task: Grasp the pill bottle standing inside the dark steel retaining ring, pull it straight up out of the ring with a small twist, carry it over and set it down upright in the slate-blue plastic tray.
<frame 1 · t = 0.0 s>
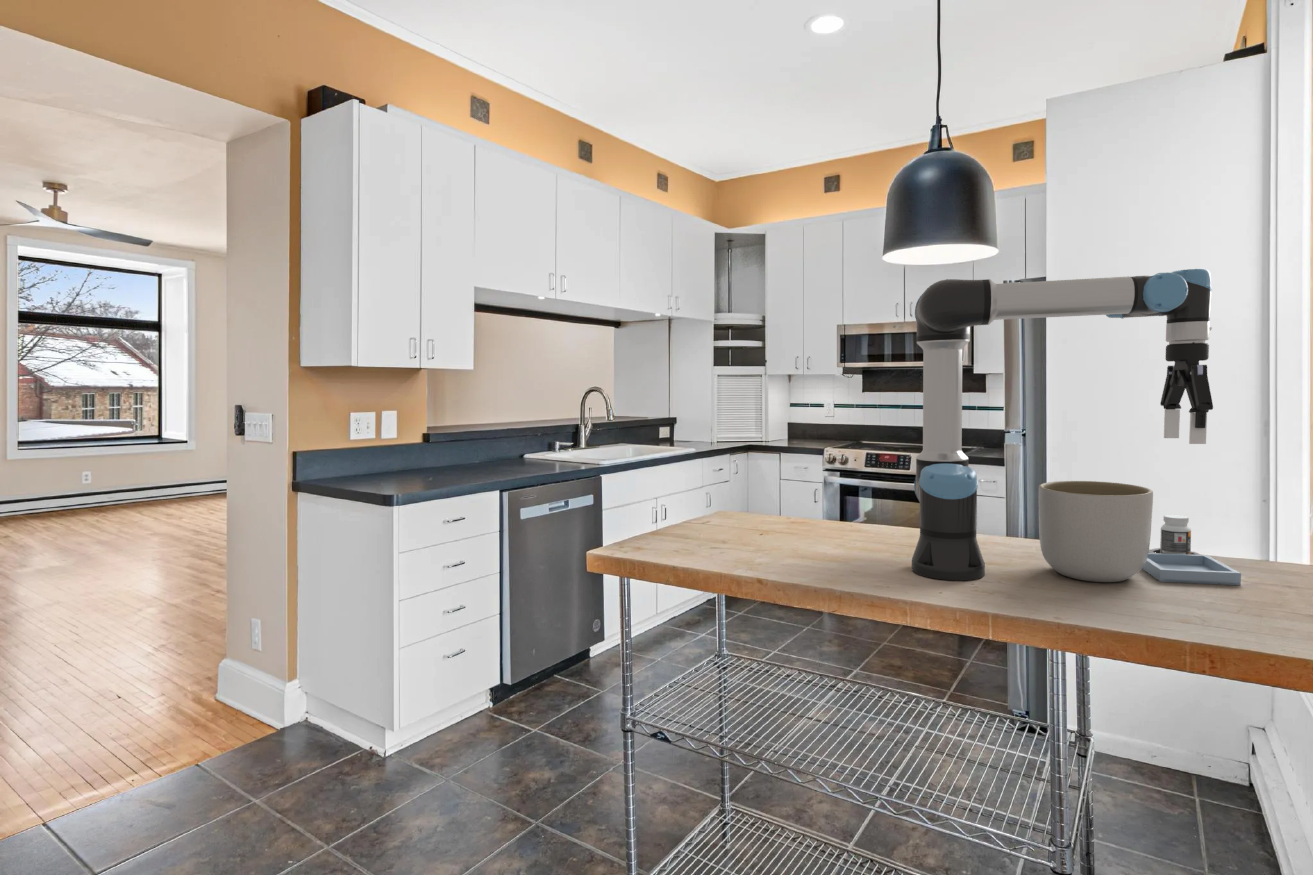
hand: (1183, 441, 158), 28 cm above the worktop, fingers open, 13 cm apart
tray: (1184, 573, 155), on the worktop
pill bottle: (1174, 559, 167), resting in ring
planter: (1091, 576, 155), on the worktop
ring: (1174, 558, 167), on the worktop
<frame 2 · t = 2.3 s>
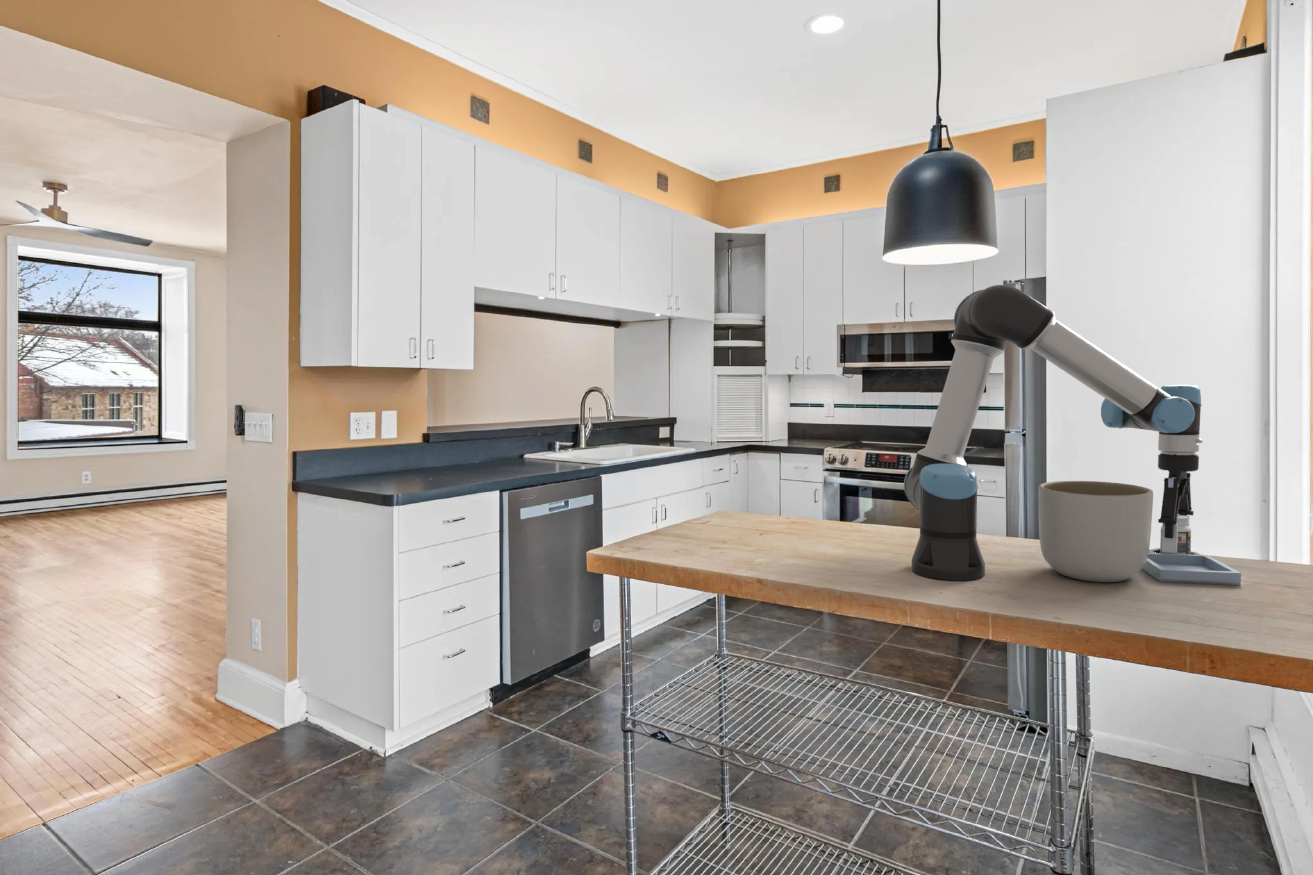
hand: (1175, 547, 166), 3 cm above the worktop, fingers open, 11 cm apart
nothing on the worktop moved.
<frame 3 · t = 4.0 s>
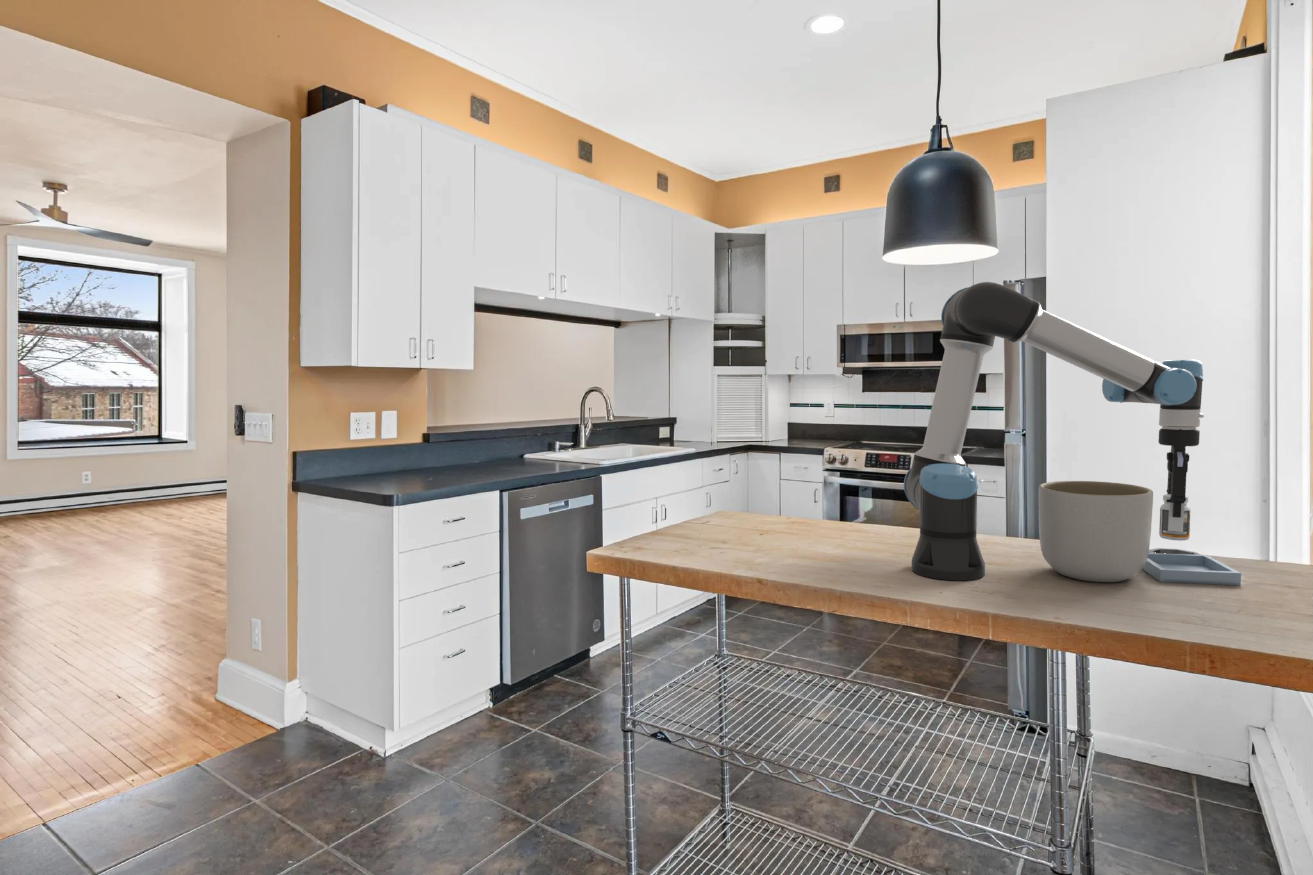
hand: (1174, 528, 166), 7 cm above the worktop, fingers closed on pill bottle, 6 cm apart
pill bottle: (1173, 539, 166), point 5 cm above the worktop, touching gripper
everything else where it was.
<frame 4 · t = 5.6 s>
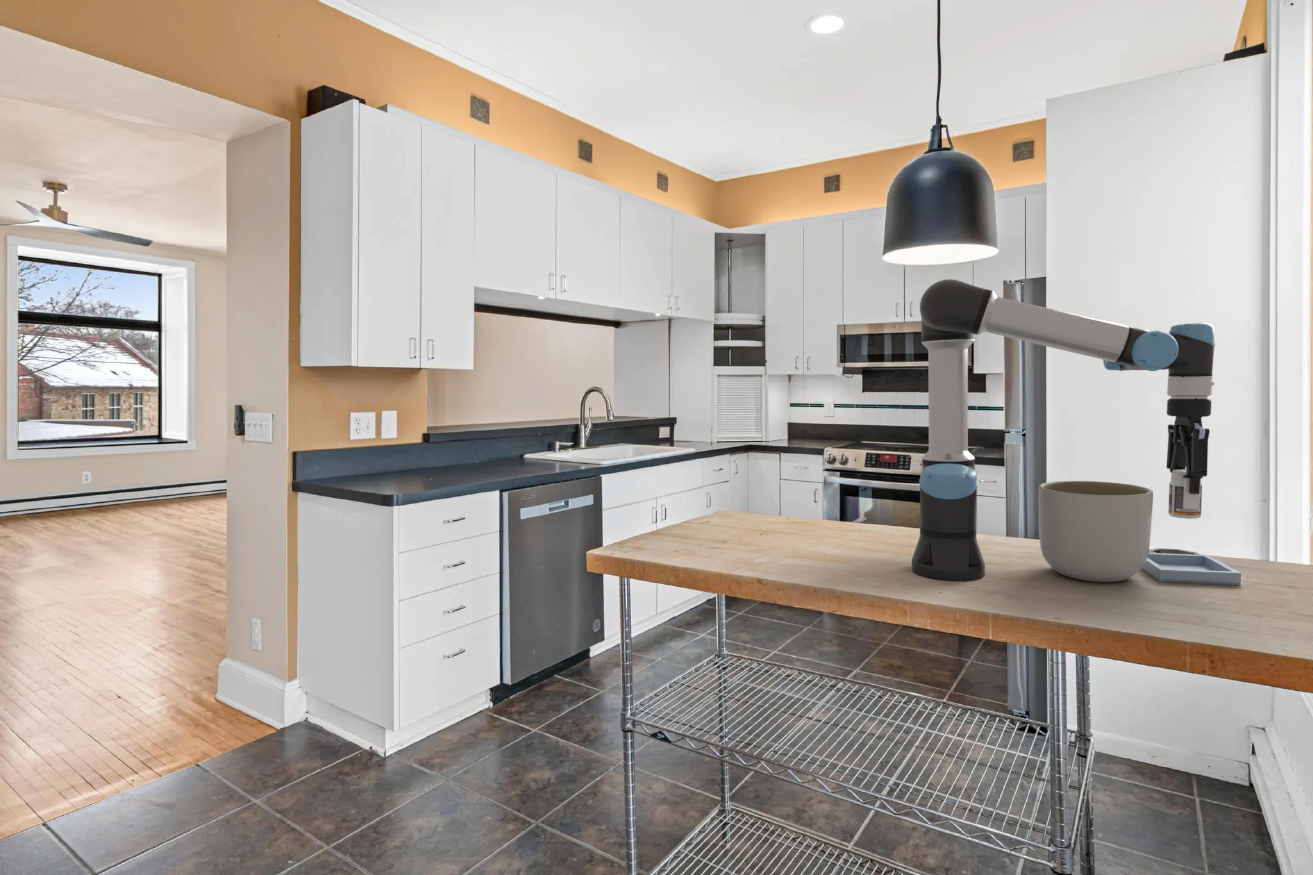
hand: (1184, 505, 154), 14 cm above the worktop, fingers closed on pill bottle, 6 cm apart
pill bottle: (1184, 517, 155), point 12 cm above the worktop, touching gripper
everything else where it was.
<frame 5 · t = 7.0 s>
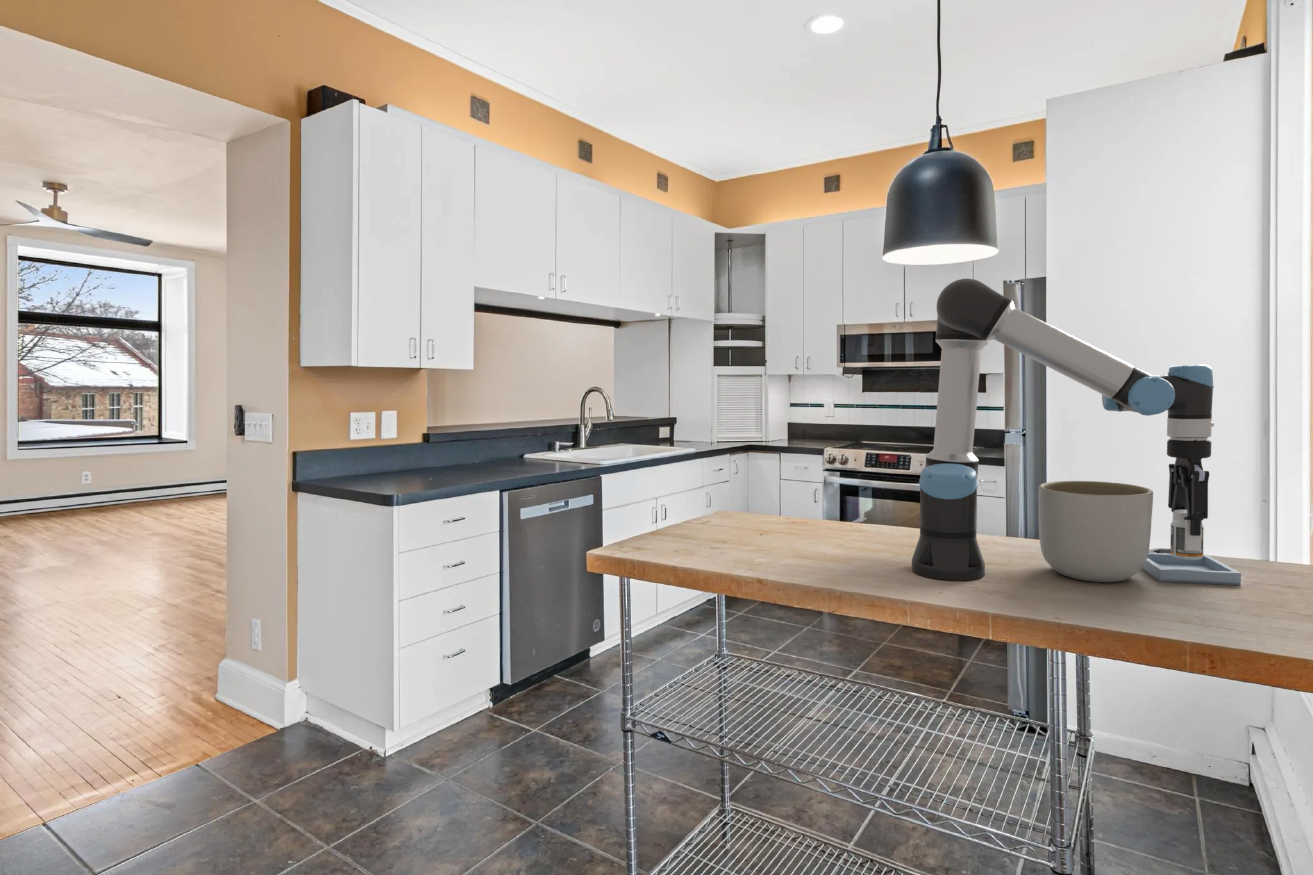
hand: (1186, 546, 154), 6 cm above the worktop, fingers closed on pill bottle, 6 cm apart
pill bottle: (1186, 558, 154), point 3 cm above the worktop, touching gripper
everything else where it was.
when the fingers open (3 cm above the worktop, at t = 7.8 s): pill bottle stays where it is, resting on tray.
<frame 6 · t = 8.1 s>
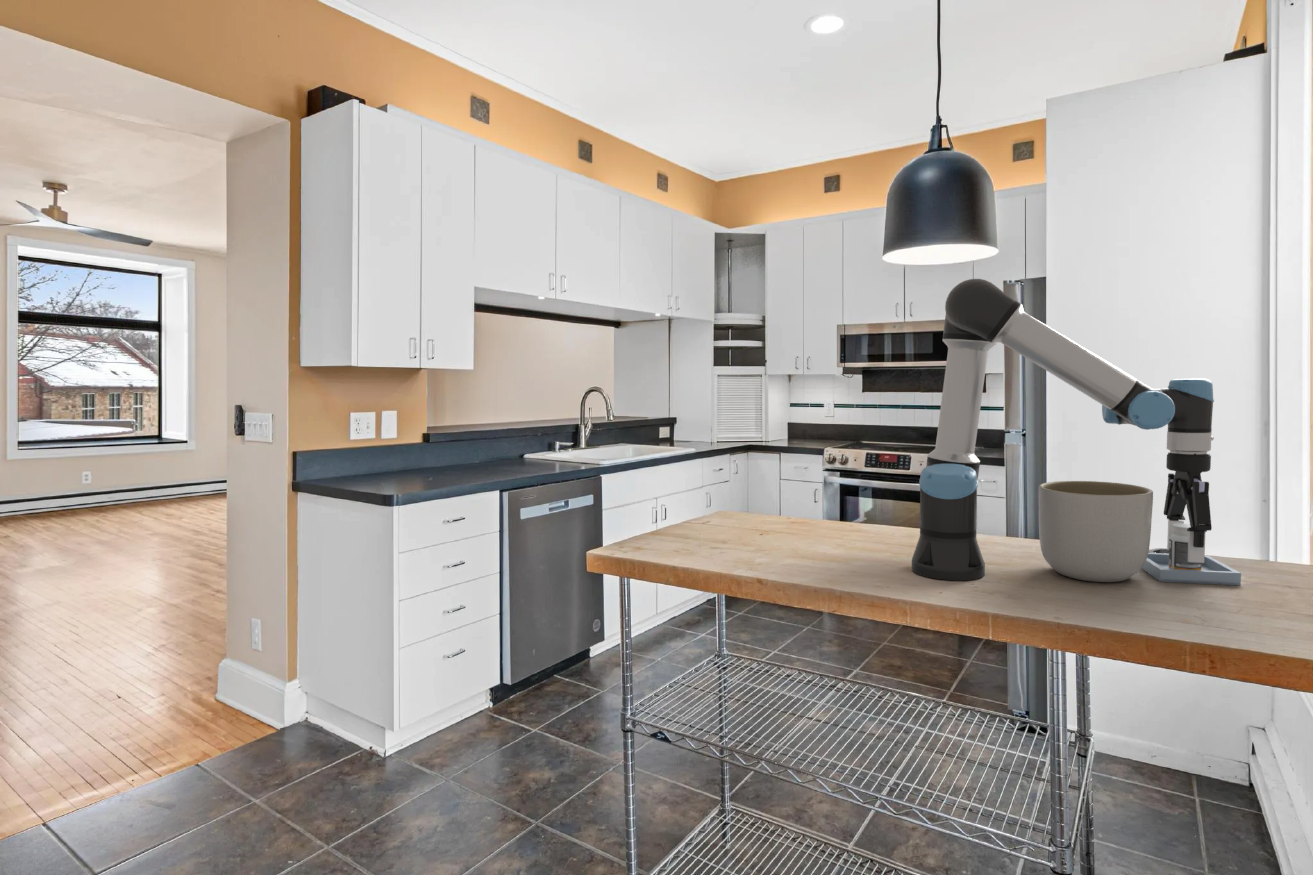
hand: (1185, 555, 154), 4 cm above the worktop, fingers open, 10 cm apart
pill bottle: (1184, 572, 155), resting on tray
everything else where it was.
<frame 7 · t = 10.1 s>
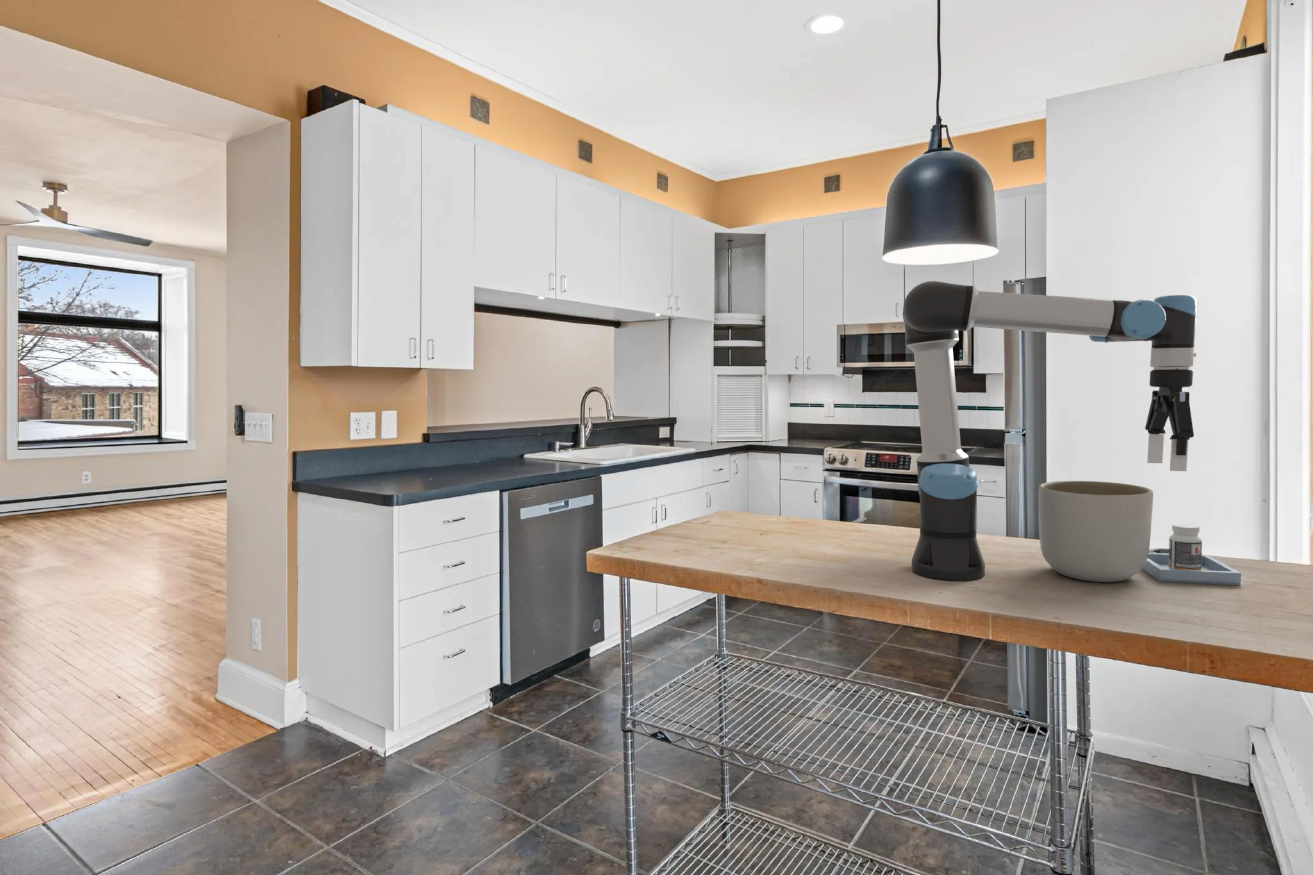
hand: (1165, 466, 157), 23 cm above the worktop, fingers open, 13 cm apart
nothing on the worktop moved.
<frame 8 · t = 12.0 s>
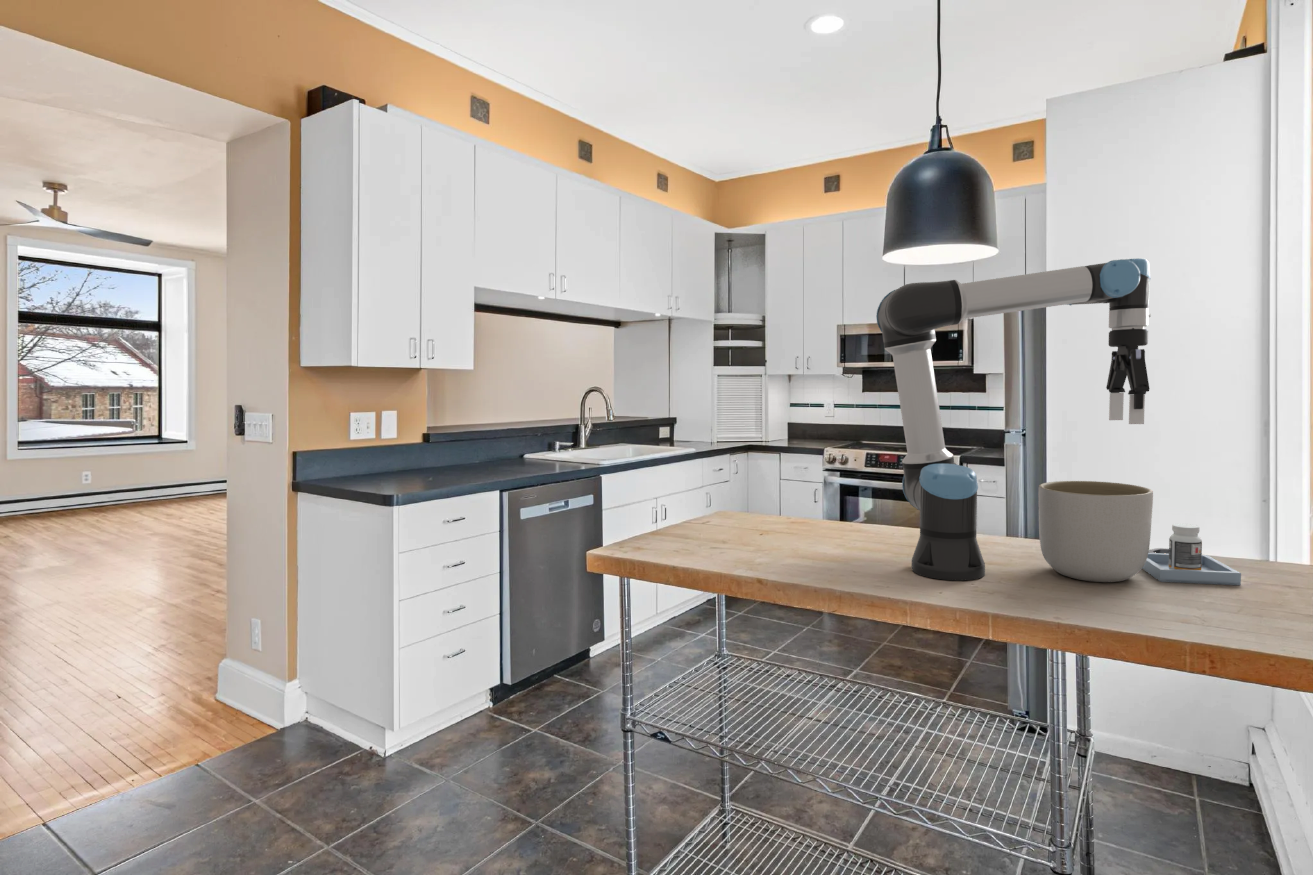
hand: (1125, 422, 166), 32 cm above the worktop, fingers open, 13 cm apart
nothing on the worktop moved.
at the end: pill bottle inside the target area on the tray (0.0 cm from its centre), point 0.3 cm above the tray's base; pill bottle tilted 0°; pill bottle moved 13.8 cm from its start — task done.
